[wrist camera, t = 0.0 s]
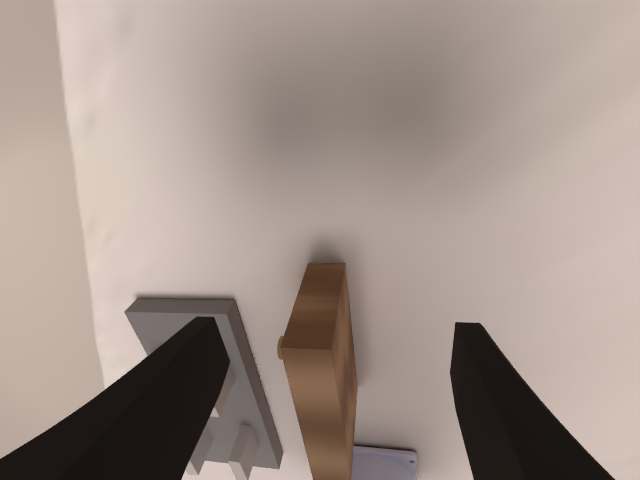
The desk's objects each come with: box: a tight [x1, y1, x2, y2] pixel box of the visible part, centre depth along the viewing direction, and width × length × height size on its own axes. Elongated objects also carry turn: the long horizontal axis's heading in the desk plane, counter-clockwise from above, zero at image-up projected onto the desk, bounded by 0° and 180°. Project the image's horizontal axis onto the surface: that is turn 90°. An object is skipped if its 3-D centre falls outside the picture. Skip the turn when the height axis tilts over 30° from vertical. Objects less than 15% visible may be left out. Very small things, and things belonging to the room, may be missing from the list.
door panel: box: [277, 263, 358, 480], centre depth 21 cm, size 12×3×7 cm, turn 7°
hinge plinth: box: [125, 298, 283, 480], centre depth 28 cm, size 20×8×4 cm, turn 7°
